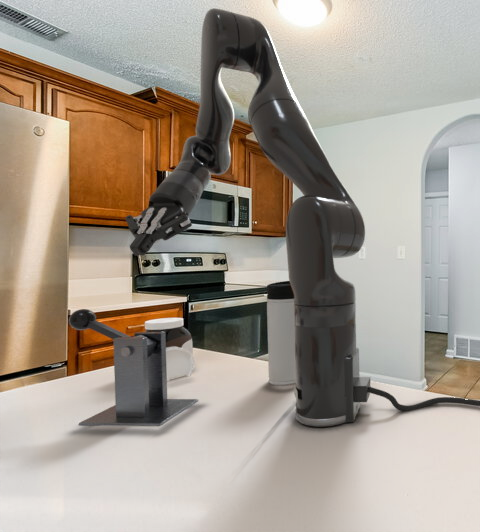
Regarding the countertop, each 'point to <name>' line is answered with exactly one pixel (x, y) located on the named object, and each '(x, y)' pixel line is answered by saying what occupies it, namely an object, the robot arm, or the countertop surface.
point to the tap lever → (101, 327)
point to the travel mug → (281, 334)
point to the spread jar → (175, 346)
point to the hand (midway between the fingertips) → (136, 252)
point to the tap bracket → (140, 385)
